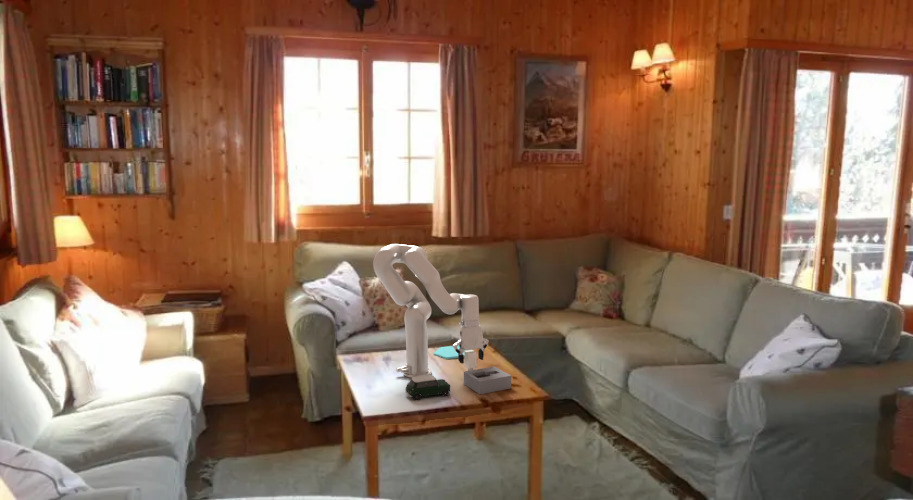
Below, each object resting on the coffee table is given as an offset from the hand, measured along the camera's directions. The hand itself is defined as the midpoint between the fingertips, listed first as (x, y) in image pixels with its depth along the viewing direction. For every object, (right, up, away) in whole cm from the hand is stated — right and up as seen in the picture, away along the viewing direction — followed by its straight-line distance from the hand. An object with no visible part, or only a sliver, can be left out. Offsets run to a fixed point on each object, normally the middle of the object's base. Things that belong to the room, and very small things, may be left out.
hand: (471, 361), depth 295 cm
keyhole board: (+7, -9, -11) cm, 16 cm away
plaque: (-8, -3, +36) cm, 37 cm away
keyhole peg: (0, -7, +1) cm, 7 cm away
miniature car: (-18, -11, -20) cm, 29 cm away
